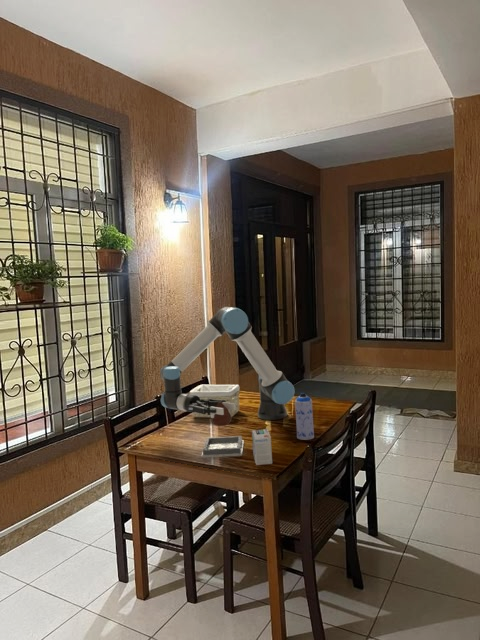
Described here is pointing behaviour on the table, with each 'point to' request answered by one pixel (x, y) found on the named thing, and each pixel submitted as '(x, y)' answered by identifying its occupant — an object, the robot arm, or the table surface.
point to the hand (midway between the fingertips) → (228, 409)
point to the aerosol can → (304, 417)
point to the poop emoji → (221, 416)
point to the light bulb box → (262, 447)
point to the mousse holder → (223, 447)
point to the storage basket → (218, 395)
